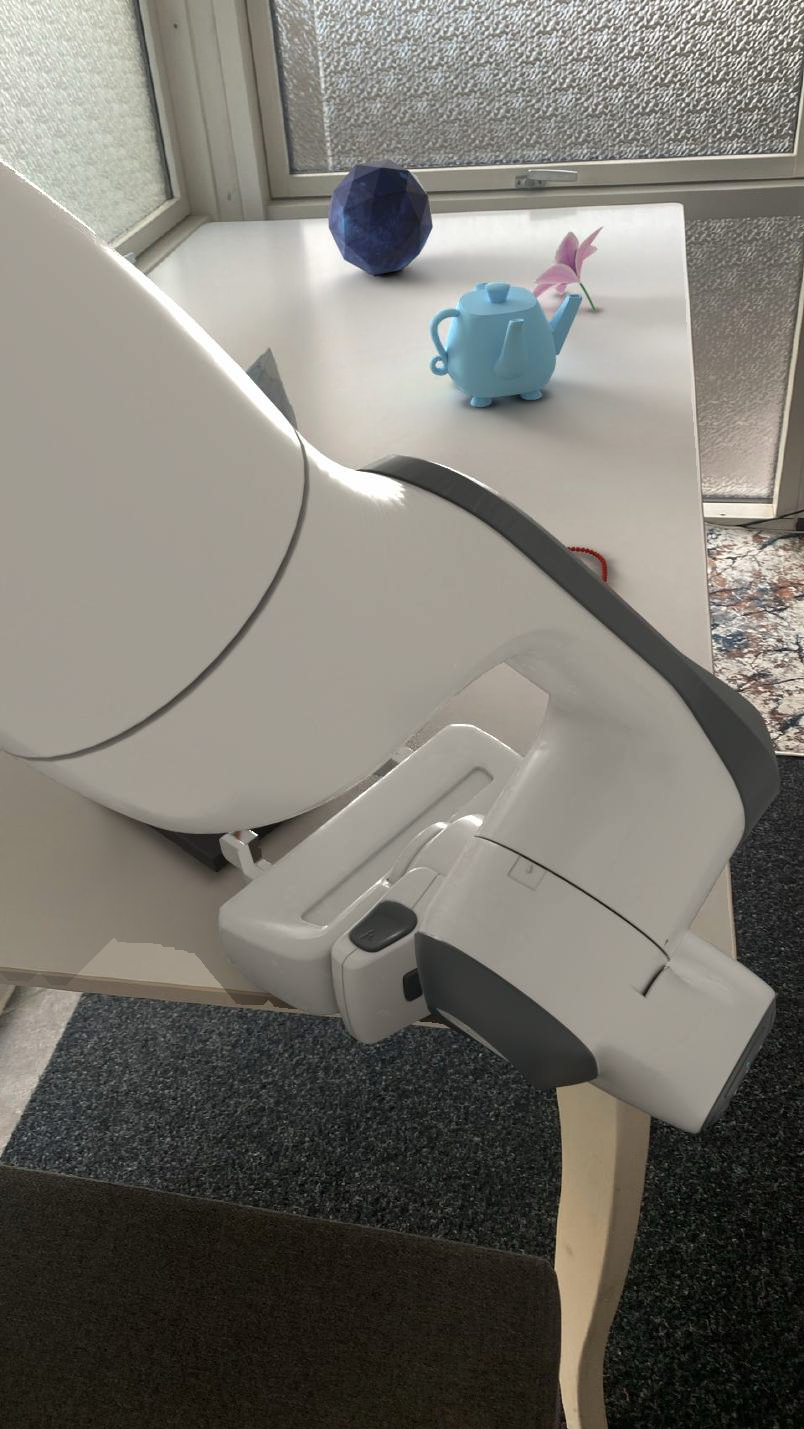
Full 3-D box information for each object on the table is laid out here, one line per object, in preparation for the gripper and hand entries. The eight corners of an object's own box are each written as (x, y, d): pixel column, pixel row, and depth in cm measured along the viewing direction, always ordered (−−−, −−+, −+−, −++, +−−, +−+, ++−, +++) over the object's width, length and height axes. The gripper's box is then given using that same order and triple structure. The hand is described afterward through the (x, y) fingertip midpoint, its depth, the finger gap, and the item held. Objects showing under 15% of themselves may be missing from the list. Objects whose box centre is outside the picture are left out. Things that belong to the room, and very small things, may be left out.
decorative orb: (457, 238, 150) (428, 129, 150) (350, 258, 147) (320, 147, 147) (433, 281, 164) (406, 181, 164) (335, 300, 161) (308, 199, 161)
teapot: (596, 380, 122) (598, 274, 115) (522, 426, 114) (519, 316, 107) (485, 356, 130) (481, 256, 123) (409, 398, 123) (400, 293, 116)
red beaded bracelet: (620, 602, 87) (621, 591, 86) (544, 610, 87) (543, 600, 86) (599, 547, 94) (599, 537, 93) (527, 555, 94) (527, 544, 93)
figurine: (313, 480, 109) (290, 328, 100) (304, 526, 102) (278, 366, 92) (214, 487, 110) (182, 336, 100) (198, 533, 102) (162, 375, 93)
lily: (611, 294, 146) (579, 225, 143) (646, 282, 135) (612, 206, 132) (533, 341, 146) (499, 272, 143) (562, 332, 134) (526, 257, 132)
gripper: (585, 752, 62) (402, 666, 70) (327, 988, 51) (143, 855, 59) (583, 833, 66) (409, 743, 74) (343, 1068, 55) (168, 933, 63)
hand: (289, 794), depth 66 cm, fingers open, 8 cm apart
